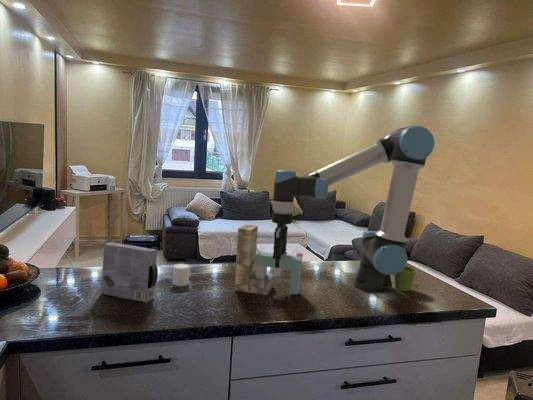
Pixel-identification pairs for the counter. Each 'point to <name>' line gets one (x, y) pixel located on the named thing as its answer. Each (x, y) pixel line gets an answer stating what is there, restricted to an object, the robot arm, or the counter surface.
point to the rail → (287, 263)
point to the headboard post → (249, 263)
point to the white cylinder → (181, 274)
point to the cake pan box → (129, 272)
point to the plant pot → (405, 279)
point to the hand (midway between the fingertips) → (278, 273)
